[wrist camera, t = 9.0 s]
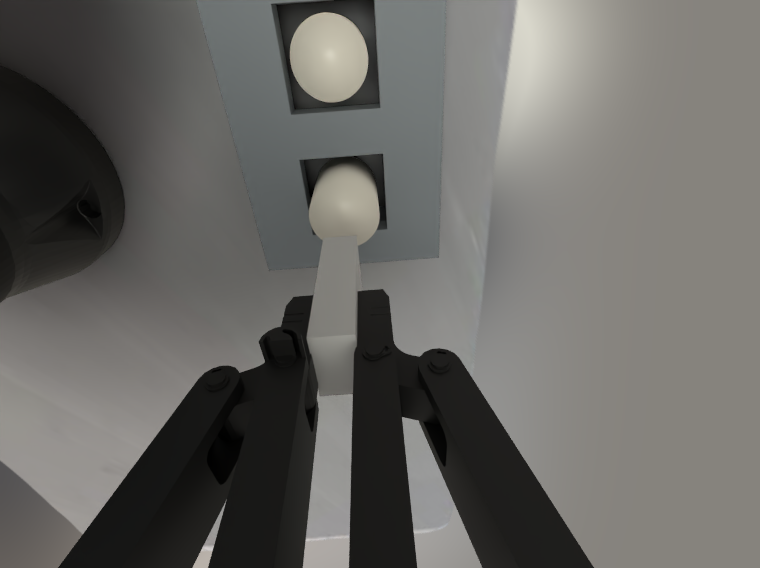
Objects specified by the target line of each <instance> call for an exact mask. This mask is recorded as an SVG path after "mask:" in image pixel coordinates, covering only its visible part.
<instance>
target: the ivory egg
mask: <svg viewBox="0 0 760 568" xmlns="http://www.w3.org/2000/svg"><path fill="white" fill-rule="evenodd" d="M379 219H380V213H379V204H378V194H377V185H376V179H375V176H374V174H373V172H372V170H371V169H370V167H369V166H368V165H367V164H366V163H364V162H363V161H361V160H359V159H357V158H354V157H349V156H345V157H337V158H334V159H332V160H330V161H328V162H327V163H326V164H325V165H324V166H323V167H322V168H321V170H320V172H319V174H318V177H317V181H316V184H315V188H314V192H313V196H312V200H311V204H310V208H309V221H310V224H311V227H312V229H313V230H314V232H315V233H316V235H317V236H318V237H319V238H320V239H322V240H323V238H328V237H341V236H355V235H357V243H358V245H361V244H363V243H365V242H366V241H367V240H369V239H370V238H371V237H372V236H373V234H374V233H375V231H376V230H377V227H378V224H379Z"/></svg>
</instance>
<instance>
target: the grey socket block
mask: <svg viewBox="0 0 760 568" xmlns="http://www.w3.org/2000/svg"><path fill="white" fill-rule="evenodd" d="M319 1H332V0H196V3H197V6H198V10H199V14H200V17H201V21H202V25H203V29H204V32H205V36H206V40H207V43H208V47H209V51H210V54H211V58H212V62H213V65H214V69H215V73H216V77H217V80H218V84H219V88H220V91H221V95H222V99H223V102H224V106H225V110H226V113H227V117H228V121H229V125H230V128H231V132H232V136H233V139H234V143H235V147H236V150H237V154H238V158H239V161H240V165H241V169H242V173H243V176H244V180H245V184H246V187H247V191H248V195H249V198H250V202H251V206H252V209H253V213H254V217H255V221H256V224H257V228H258V232H259V235H260V239H261V243H262V246H263V250H264V254H265V257H266V261H267V265H268V269H269V270H282V269H295V268H308V267H318V266H319V260H320V254H321V249H322V243H323V240H322V239H320V238H319V237H318V236H317V235H316V233H315V232H314V230H313V229H312V227H311V224H310V221H309V208H310V204H311V200H310V194H309V189H308V183H307V177H306V172H305V166H304V160H306V159H319V158H332V157H345V156H358V155H371V154H382V158H383V175H384V192H385V206H381V207H379V213H380V219H379V224H378V227H377V230H376V231H375V233H374V234H373V236H372V237H371V238H370V239H369V240H367V241H366V242H365V243H363V244H361V245H358V252H359V262H360V263H373V262H386V261H399V260H412V259H425V258H438V257H439V228H440V194H441V161H442V127H443V94H444V60H445V27H446V0H373V1H374V19H375V36H376V54H377V71H378V88H379V103H376V104H362V105H349V106H336V107H323V108H310V109H297V110H295V109H294V103H293V97H292V92H291V86H290V80H289V74H288V69H287V63H286V57H285V52H284V46H283V40H282V35H281V29H280V23H279V17H278V12H277V6H276V5H279V4H292V3H305V2H319Z"/></svg>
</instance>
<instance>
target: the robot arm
mask: <svg viewBox="0 0 760 568" xmlns="http://www.w3.org/2000/svg"><path fill="white" fill-rule="evenodd" d="M123 218H124V199H123V193H122V189H121V185H120V182H119V179H118V176H117V174H116V171H115V169H114V167H113V165H112V163H111V161H110V159H109V157H108V155H107V154H106V152H105V151H104V149H103V148H102V146H101V145H100V143H99V142H98V140H97V139H96V138H95V137H94V135H93V134H92V133H91V131H90V130H89V129H88V128H87V127H86V126H85V125H84V123H83V122H82V121H81V120H80V119H79V118H78V117H77V116H76V115H75V114H74V113H73V112H72V111H70V110H69V109H68V108H67V107H66V106H65V105H64V104H62V103H61V102H60V101H59V100H58V99H56V98H55V97H54V96H52V95H51V94H50V93H48V92H47V91H45V90H44V89H43V88H41V87H40V86H38V85H37V84H35V83H33V82H32V81H30V80H28V79H27V78H25V77H23V76H21V75H19V74H17V73H15V72H13V71H11V70H9V69H7V68H5V67H2V66H0V302H2V301H3V300H4V299H6V298H8V297H11V296H14V295H16V294H19V293H22V292H25V291H28V290H31V289H34V288H36V287H39V286H42V285H45V284H48V283H51V282H54V281H56V280H59V279H62V278H65V277H68V276H71V275H73V274H75V273H77V272H79V271H81V270H83V269H85V268H86V267H88V266H89V265H91V264H92V263H93V262H94V261H96V260H97V259H98V258H99V257H100V256H101V255H102V254H103V253H104V252H105V251H107V250H108V249H109V248H110V247H111V245H112V244H113V243H114V242H115V240H116V238H117V237H118V235H119V233H120V230H121V227H122V223H123ZM259 344H260V347H261V350H262V353H263V356H264V359H265V363H264V364H262V365H260V366H258V367H256V368H254V369H251V370H247V371H244V372H241V373H239V371H238V370H237V369H236V368H235V367H231V366H219V367H216V368H213V369H211V370H209V371H208V372H206V373H204V374H203V375H202V376H201V377H200V378H199V379H198V381H197V382H196V383H195V385H194V386H193V387H192V389H191V390H190V391H189V393H188V394H187V395H186V397H185V398H184V399H183V401H182V402H181V403H180V405H179V406H178V407H177V409H176V410H175V411H174V413H173V414H172V416H171V417H170V418H169V420H168V421H167V422H166V424H165V425H164V426H163V428H162V429H161V430H160V432H159V433H158V434H157V436H156V437H155V438H154V440H153V441H152V442H151V444H150V445H149V446H148V448H147V449H146V450H145V452H144V453H143V454H142V456H141V457H140V458H139V460H138V461H137V463H136V464H135V465H134V467H133V468H132V469H131V471H130V472H129V473H128V475H127V476H126V477H125V479H124V480H123V481H122V483H121V484H120V485H119V487H118V488H117V489H116V491H115V492H114V493H113V495H112V496H111V497H110V499H109V500H108V501H107V503H106V504H105V506H104V507H103V508H102V510H101V511H100V512H99V514H98V515H97V516H96V518H95V519H94V520H93V522H92V523H91V524H90V526H89V527H88V528H87V530H86V531H85V532H84V534H83V535H82V536H81V538H80V539H79V540H78V542H77V543H76V544H75V546H74V547H73V548H72V550H71V551H70V553H69V554H68V555H67V557H66V558H65V559H64V561H63V562H62V563H61V565H60V566H59V567H58V568H192V567H193V565H194V563H195V561H196V559H197V557H198V555H199V553H200V551H201V549H202V547H203V545H204V543H205V541H206V539H207V537H208V535H209V533H210V531H211V529H212V527H213V525H214V523H215V521H216V519H217V517H218V515H219V513H220V511H221V509H222V507H223V505H224V503H225V502H226V505H225V508H224V512H223V516H222V519H221V523H220V526H219V530H218V534H217V537H216V541H215V545H214V548H213V552H212V556H211V559H210V563H209V566H208V568H303V558H304V549H305V539H306V529H307V520H308V510H309V500H310V490H311V481H312V471H313V461H314V451H315V442H316V432H317V422H318V412H319V408H318V402H317V391H318V390H319V395H320V396H329V395H343V394H353V417H352V462H351V507H350V552H349V553H350V554H349V556H350V557H349V568H417V562H416V552H415V542H414V532H413V522H412V513H411V503H410V493H409V483H408V473H407V464H406V454H405V444H404V434H403V424H402V417H405V418H410V419H414V420H419V423H420V425H421V427H422V430H423V432H424V434H425V437H426V439H427V441H428V444H429V446H430V448H431V450H432V453H433V455H434V457H435V460H436V462H437V464H438V467H439V469H440V471H441V473H442V476H443V478H444V480H445V483H446V485H447V487H448V489H449V492H450V494H451V496H452V499H453V501H454V503H455V506H456V508H457V510H458V512H459V515H460V517H461V519H462V521H463V524H464V526H465V529H466V531H467V533H468V535H469V538H470V540H471V542H472V545H473V547H474V549H475V551H476V554H477V556H478V558H479V561H480V563H481V565H482V568H594V567H593V566H592V564H591V563H590V561H589V560H588V558H587V556H586V555H585V553H584V552H583V550H582V549H581V547H580V545H579V544H578V542H577V541H576V539H575V538H574V536H573V535H572V533H571V532H570V530H569V528H568V527H567V525H566V524H565V522H564V521H563V519H562V517H561V516H560V514H559V513H558V511H557V510H556V508H555V507H554V505H553V503H552V502H551V500H550V499H549V497H548V496H547V494H546V493H545V491H544V490H543V488H542V486H541V485H540V483H539V482H538V480H537V479H536V477H535V475H534V474H533V472H532V471H531V469H530V468H529V466H528V464H527V463H526V461H525V460H524V458H523V457H522V455H521V454H520V452H519V451H518V449H517V447H516V446H515V444H514V443H513V441H512V440H511V438H510V436H509V435H508V433H507V432H506V430H505V429H504V427H503V426H502V424H501V423H500V421H499V419H498V418H497V416H496V415H495V413H494V411H493V410H492V408H491V407H490V405H489V404H488V402H487V401H486V399H485V398H484V396H483V394H482V393H481V391H480V390H479V388H478V387H477V385H476V383H475V382H474V380H473V379H472V377H471V376H470V374H469V373H468V371H467V369H466V368H465V366H464V365H463V363H462V362H461V360H460V359H459V357H458V356H457V355H456V354H455V353H453V352H451V351H449V350H445V349H440V348H439V349H431V350H429V351H426V352H424V353H423V354H422V355H421V356H420V357H417V356H412V355H408V354H405V353H404V352H402V351H400V350H399V349H398V348H397V347H396V346H395V344H394V341H393V332H392V323H391V313H390V304H389V296H388V295H387V294H386V293H385V291H384V290H383V289H380V290H367V291H362V280H361V271H360V262H359V252H358V243H357V235H355V236H341V237H328V238H323V243H322V249H321V254H320V260H319V266H318V272H317V278H316V284H315V290H314V295H312V296H299V297H293V298H292V300H291V301H290V302H289V303H288V304H287V305H286V309H285V313H284V317H283V321H282V325H281V327H277V328H274V329H272V330H270V331H268V332H267V333H265V334H264V335H263V336H262V337H261V339H260V341H259ZM226 500H227V501H226Z"/></svg>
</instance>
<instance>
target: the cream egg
mask: <svg viewBox="0 0 760 568" xmlns="http://www.w3.org/2000/svg"><path fill="white" fill-rule="evenodd" d="M290 62H291V67H292V71H293V73H294V76H295V78H296V80H297V81H298V83H299V85H300V86H301V87H302V88H303V89H304V90H305V91H306V92H307V93H308V94H309V95H310V96H312V97H314V98H315V99H318V100H320V101H324V102H340V101H343V100H346V99H348V98H349V97H351V96H352V95H353V94H355V93H356V92H357V91H358V89H359V88H360V87H361V85H362V84H363V82H364V80H365V77H366V74H367V69H368V52H367V48H366V44H365V40H364V38H363V35H362V33H361V31H360V30H359V28H358V27H357V26H356V25H355V24H354V23H353V22H352V21H351V20H350V19H348V18H346V17H344V16H342V15H339V14H335V13H329V12H324V13H318V14H315V15H312V16H310V17H308V18H307V19H306V20H304V21H303V22H302V23H301V24H300V26H299V27H298V28H297V30H296V32H295V33H294V36H293V38H292V42H291V46H290Z"/></svg>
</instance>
